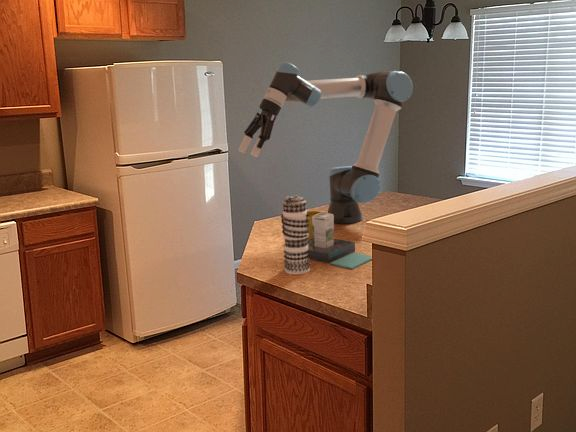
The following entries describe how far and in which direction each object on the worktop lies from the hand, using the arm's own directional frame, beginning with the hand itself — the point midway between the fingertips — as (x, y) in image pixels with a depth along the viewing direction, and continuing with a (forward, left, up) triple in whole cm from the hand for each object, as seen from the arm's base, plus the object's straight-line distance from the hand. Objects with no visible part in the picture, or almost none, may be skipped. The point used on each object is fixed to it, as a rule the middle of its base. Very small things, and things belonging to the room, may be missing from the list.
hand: (247, 154), depth 234 cm
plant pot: (-19, +14, -35) cm, 42 cm away
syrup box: (-5, +30, -35) cm, 47 cm away
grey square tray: (-5, +30, -35) cm, 46 cm away
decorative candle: (+14, +34, -35) cm, 51 cm away
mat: (-3, +44, -35) cm, 56 cm away
